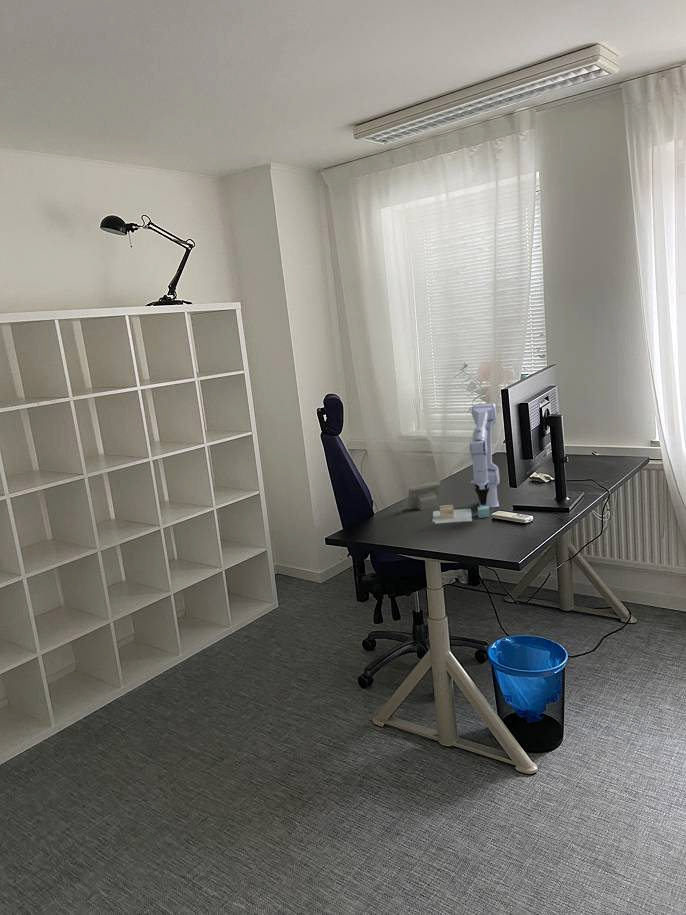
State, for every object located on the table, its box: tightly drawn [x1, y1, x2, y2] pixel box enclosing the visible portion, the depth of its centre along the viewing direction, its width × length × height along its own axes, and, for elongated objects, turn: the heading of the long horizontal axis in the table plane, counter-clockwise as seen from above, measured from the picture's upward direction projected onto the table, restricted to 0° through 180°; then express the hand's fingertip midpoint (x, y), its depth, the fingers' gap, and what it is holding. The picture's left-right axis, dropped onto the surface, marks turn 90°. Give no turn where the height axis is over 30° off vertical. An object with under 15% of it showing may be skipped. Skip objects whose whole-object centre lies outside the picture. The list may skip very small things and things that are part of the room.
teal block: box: [477, 505, 491, 519], centre depth 291 cm, size 4×4×4 cm
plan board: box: [432, 508, 473, 524], centre depth 297 cm, size 18×16×1 cm
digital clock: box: [406, 481, 441, 511], centre depth 315 cm, size 16×9×11 cm, turn 104°
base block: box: [439, 504, 455, 519], centre depth 296 cm, size 6×6×4 cm
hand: (482, 502), depth 290 cm, fingers open, 7 cm apart
